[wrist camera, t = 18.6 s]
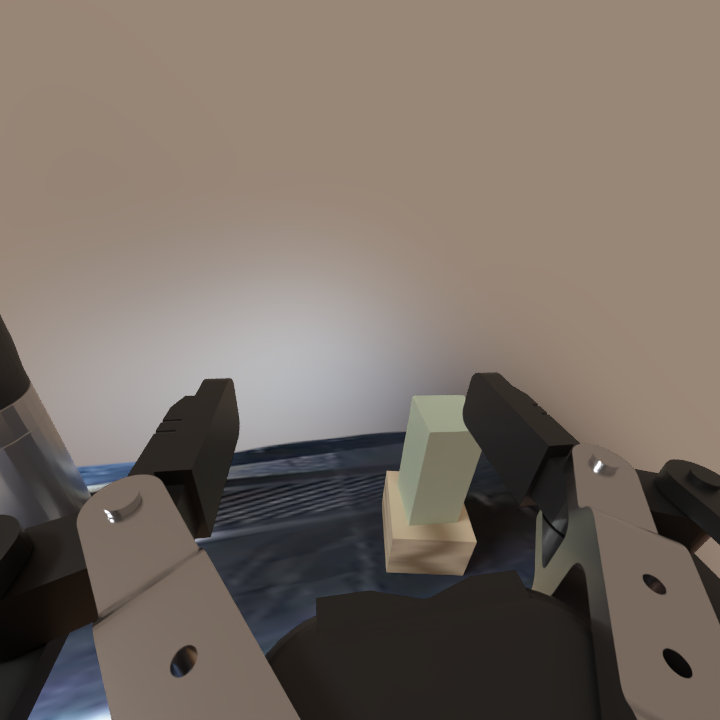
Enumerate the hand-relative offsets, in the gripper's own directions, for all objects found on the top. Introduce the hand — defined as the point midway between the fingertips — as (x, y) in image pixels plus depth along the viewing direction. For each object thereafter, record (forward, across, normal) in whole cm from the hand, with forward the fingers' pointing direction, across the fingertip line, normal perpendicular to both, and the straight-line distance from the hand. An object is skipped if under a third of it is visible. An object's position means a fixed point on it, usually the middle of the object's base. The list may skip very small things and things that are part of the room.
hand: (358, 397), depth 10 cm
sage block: (+12, -10, +22) cm, 27 cm away
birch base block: (+11, -10, +28) cm, 32 cm away
